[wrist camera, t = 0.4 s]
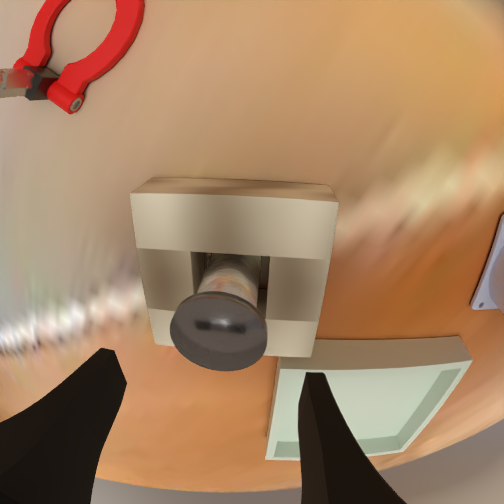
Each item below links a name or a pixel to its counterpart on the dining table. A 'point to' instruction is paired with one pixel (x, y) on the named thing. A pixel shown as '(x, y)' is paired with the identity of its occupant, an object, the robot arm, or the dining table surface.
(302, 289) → the pin block
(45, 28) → the tow hook
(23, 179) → the dining table surface
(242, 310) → the steel pin
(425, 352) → the tray
